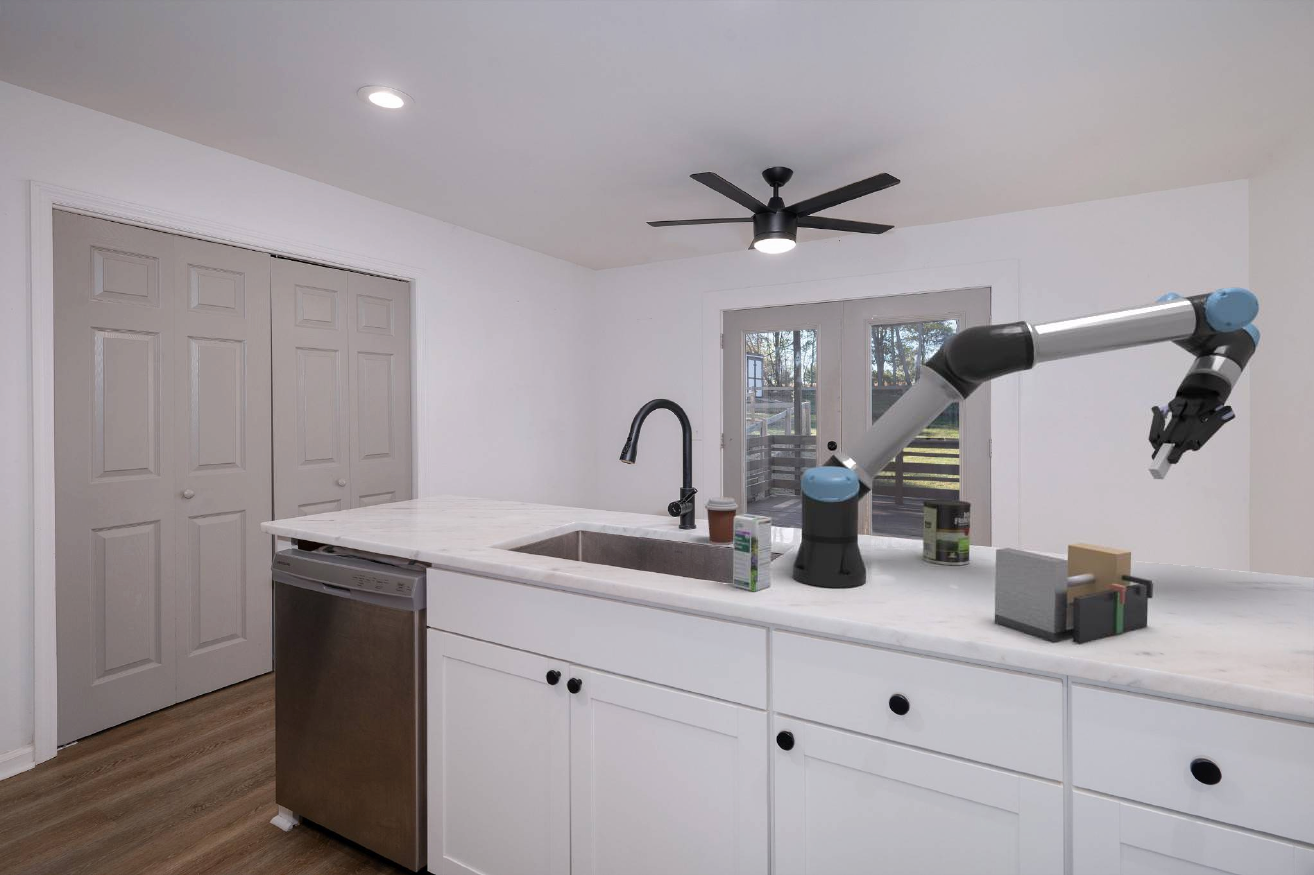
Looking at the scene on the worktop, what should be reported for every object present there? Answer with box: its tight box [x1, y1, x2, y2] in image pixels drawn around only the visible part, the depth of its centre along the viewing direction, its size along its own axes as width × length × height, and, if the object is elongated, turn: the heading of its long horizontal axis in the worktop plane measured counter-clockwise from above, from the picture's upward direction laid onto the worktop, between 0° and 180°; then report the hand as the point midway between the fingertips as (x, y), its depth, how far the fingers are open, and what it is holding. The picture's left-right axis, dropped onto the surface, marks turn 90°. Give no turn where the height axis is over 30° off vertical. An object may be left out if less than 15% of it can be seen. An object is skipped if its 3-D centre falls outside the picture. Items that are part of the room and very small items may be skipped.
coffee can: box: [922, 499, 972, 566], centre depth 148 cm, size 10×10×14 cm
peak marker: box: [1111, 584, 1126, 604], centre depth 98 cm, size 1×2×3 cm, turn 25°
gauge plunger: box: [1067, 542, 1154, 602], centre depth 105 cm, size 10×12×10 cm
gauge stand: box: [994, 547, 1149, 645], centre depth 104 cm, size 22×12×12 cm, turn 115°
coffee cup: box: [704, 496, 740, 546], centre depth 169 cm, size 9×9×12 cm
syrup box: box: [732, 513, 772, 593], centre depth 127 cm, size 6×6×14 cm
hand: (1155, 474), depth 115 cm, fingers closed
